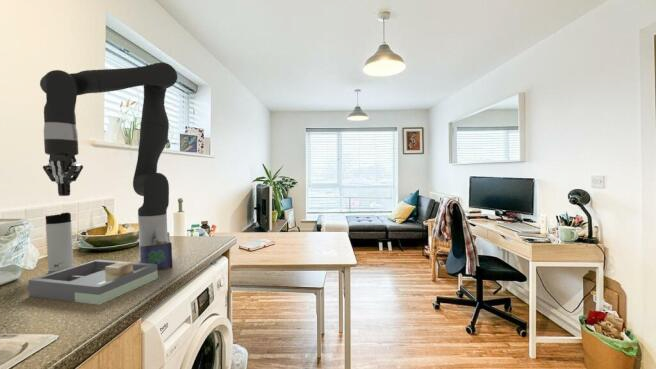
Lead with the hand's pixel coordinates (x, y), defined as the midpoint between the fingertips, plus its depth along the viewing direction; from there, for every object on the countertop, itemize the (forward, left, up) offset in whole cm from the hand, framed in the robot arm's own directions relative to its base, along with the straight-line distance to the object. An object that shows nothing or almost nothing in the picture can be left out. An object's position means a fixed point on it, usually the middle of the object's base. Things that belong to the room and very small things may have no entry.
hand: (64, 195), depth 87 cm
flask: (-14, +20, -27) cm, 36 cm away
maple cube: (+2, +23, -24) cm, 33 cm away
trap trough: (+2, +15, -26) cm, 30 cm away
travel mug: (-6, -11, -26) cm, 29 cm away
